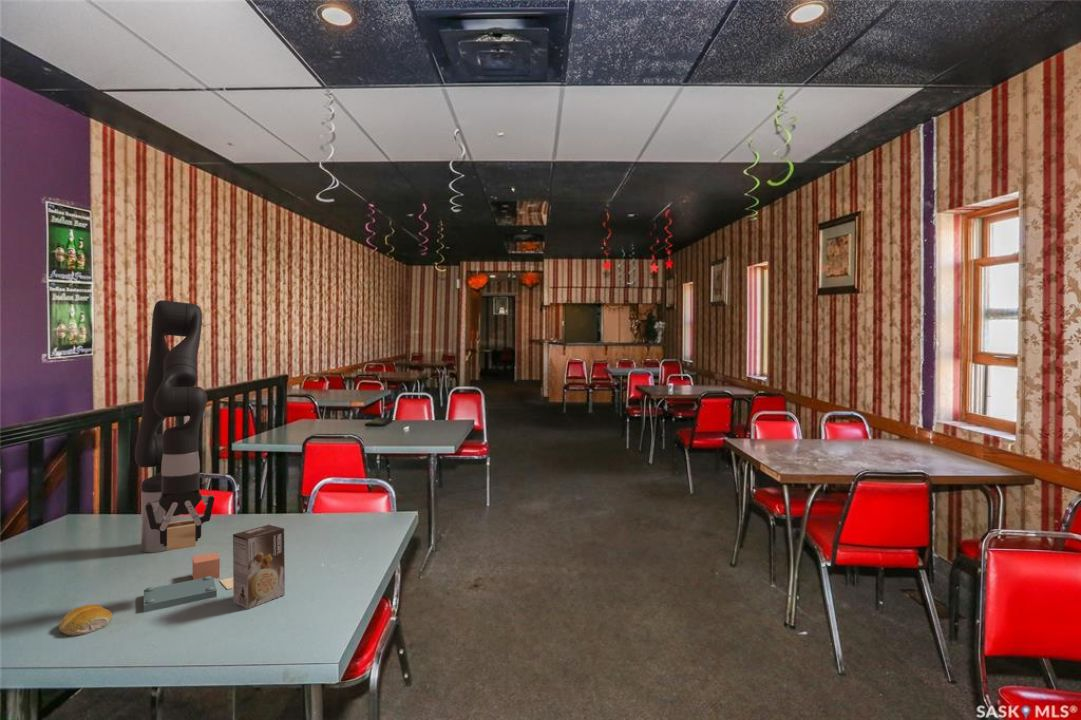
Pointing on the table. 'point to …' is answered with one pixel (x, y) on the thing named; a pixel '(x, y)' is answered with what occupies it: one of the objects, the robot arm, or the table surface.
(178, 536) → the oak brick
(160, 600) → the board
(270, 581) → the coffee box
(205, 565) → the terracotta brick
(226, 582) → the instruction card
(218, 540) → the table surface
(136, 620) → the table surface
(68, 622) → the bread roll
